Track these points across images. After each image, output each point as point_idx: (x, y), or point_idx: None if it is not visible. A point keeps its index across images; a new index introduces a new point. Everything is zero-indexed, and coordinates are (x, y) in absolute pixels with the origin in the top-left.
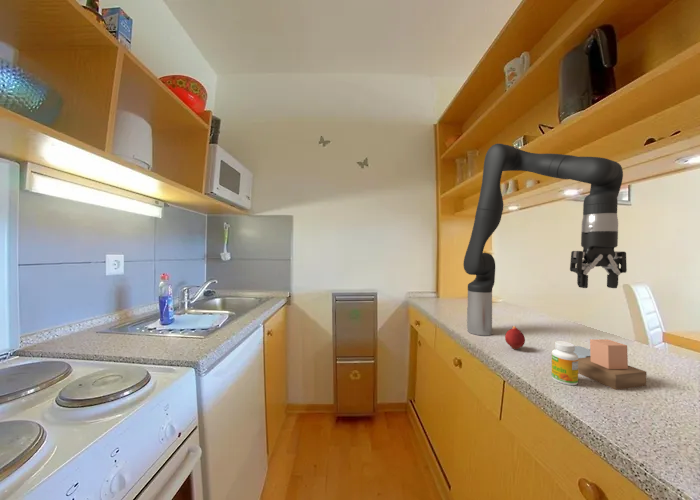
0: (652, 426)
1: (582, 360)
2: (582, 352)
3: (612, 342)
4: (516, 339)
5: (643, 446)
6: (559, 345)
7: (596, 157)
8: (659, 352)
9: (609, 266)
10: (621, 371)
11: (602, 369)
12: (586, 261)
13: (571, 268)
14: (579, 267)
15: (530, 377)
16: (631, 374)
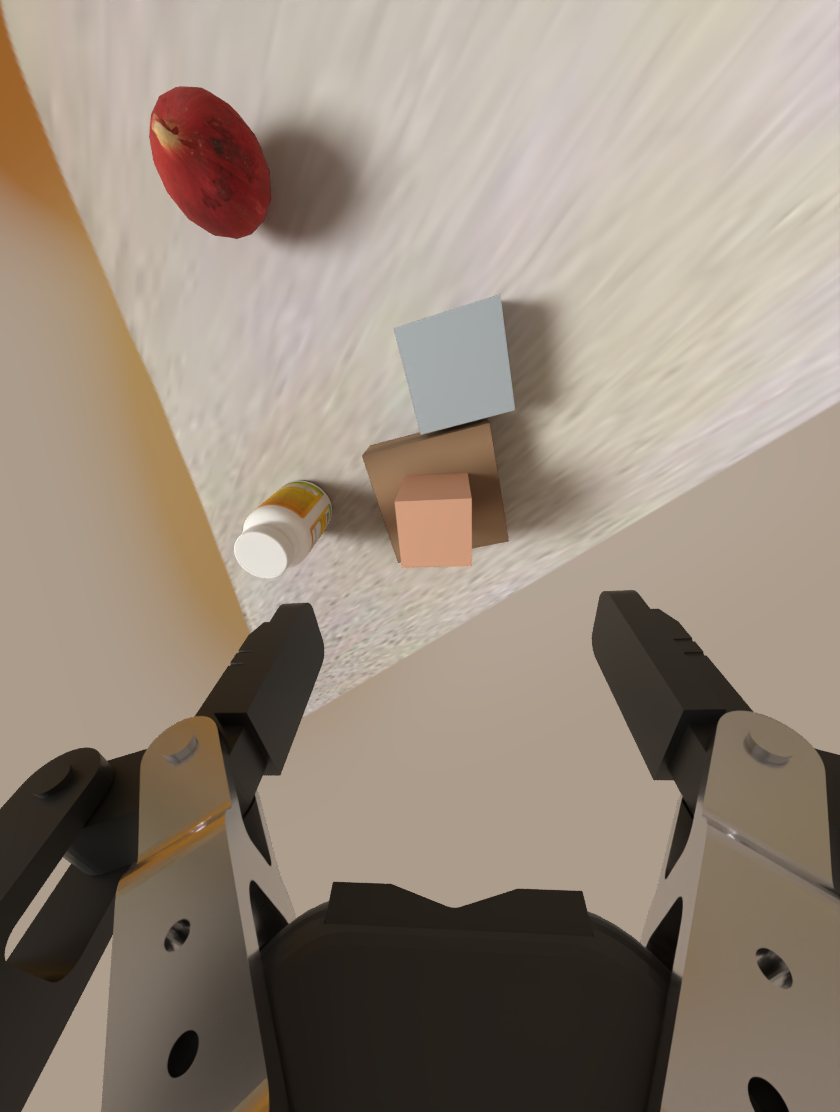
0: (357, 645)
1: (382, 470)
2: (441, 391)
3: (449, 537)
4: (206, 229)
5: None
6: (241, 561)
7: None
8: None
9: (663, 940)
10: None
11: (391, 533)
12: (188, 1049)
13: (26, 817)
14: (96, 898)
15: (223, 492)
16: None
